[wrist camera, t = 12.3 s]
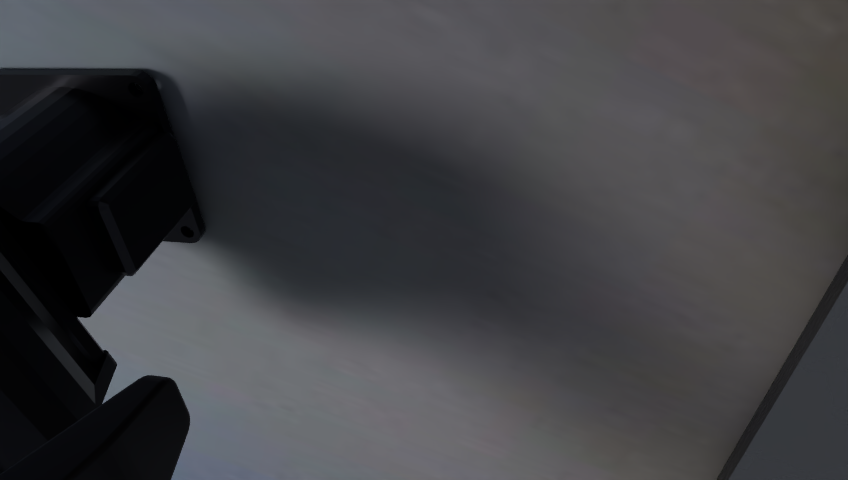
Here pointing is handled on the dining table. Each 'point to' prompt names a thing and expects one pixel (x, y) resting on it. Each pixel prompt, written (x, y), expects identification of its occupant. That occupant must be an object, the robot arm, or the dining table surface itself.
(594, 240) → the dining table surface
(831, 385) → the grey flat plate
